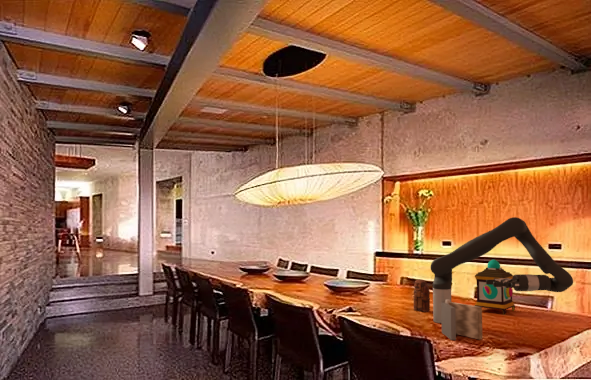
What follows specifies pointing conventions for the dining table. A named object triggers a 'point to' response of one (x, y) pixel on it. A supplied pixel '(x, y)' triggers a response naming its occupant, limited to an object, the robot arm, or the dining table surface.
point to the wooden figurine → (421, 296)
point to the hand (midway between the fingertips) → (489, 283)
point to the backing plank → (448, 320)
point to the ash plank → (468, 320)
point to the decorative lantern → (493, 289)
